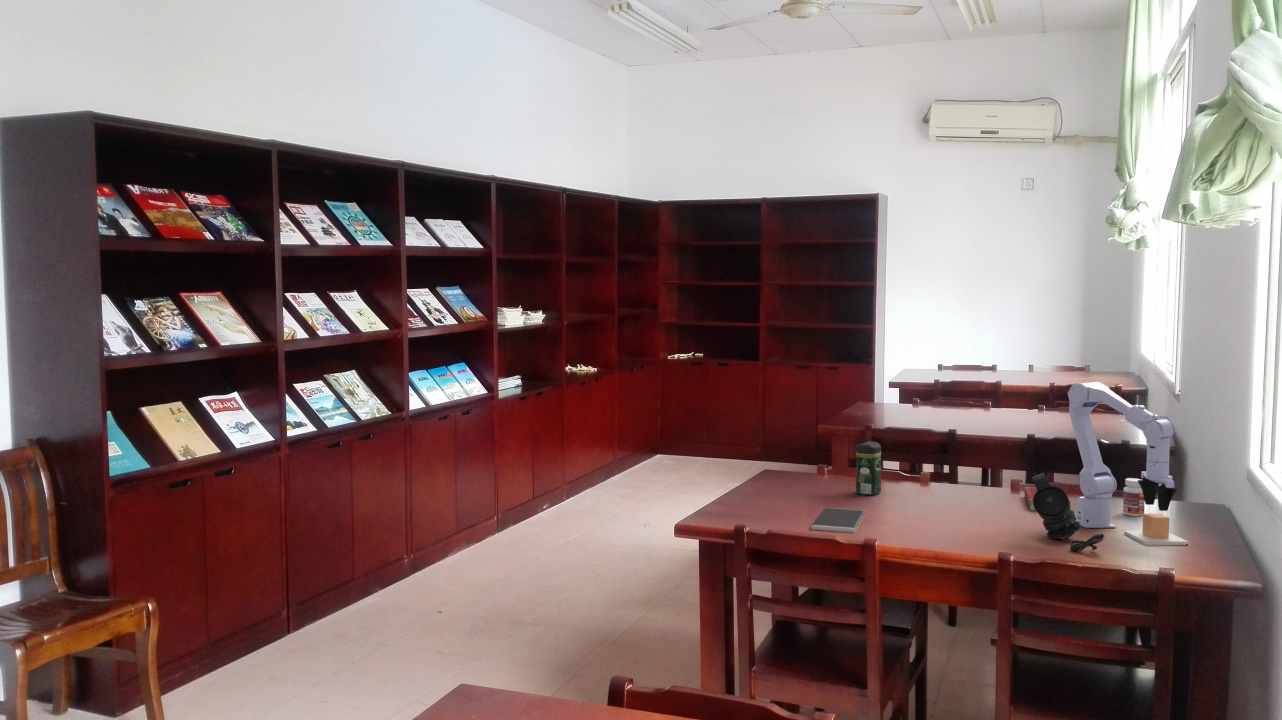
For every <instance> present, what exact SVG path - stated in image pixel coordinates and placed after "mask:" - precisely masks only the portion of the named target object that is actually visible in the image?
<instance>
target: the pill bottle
mask: <svg viewBox="0 0 1282 720" xmlns="http://www.w3.org/2000/svg"><path fill="white" fill-rule="evenodd" d="M1138 480H1142V478H1141V479H1139V478H1134V477H1127V478H1125V482H1124V485H1126V486H1125V487H1123V494H1122V495H1123V498H1122V499H1123V501H1122V504H1123V505H1122V513H1123V514H1124V515H1125V516H1126V515H1127V516H1130V517H1131V516H1132V517H1143V514H1145V506H1146V504H1145V500H1144V496H1143V492H1142V489H1141V487H1140V485H1139V483H1138Z"/></svg>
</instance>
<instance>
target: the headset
mask: <svg viewBox="0 0 1282 720" xmlns="http://www.w3.org/2000/svg"><path fill="white" fill-rule="evenodd" d="M1031 480H1032V482H1033V484H1034V488H1036V489H1037V492H1036V493H1035V495H1034V497H1033V505H1034V508H1035V510H1034V511H1036V513H1037V514H1038V515H1039V516H1040V518H1041V519H1043V520H1042V525H1043V526H1044V528H1045V530H1046V535H1047V536H1048V538H1049V539H1051V540H1054V539H1055V540H1056V539H1058V540H1059V539H1060V540H1063V541H1065V542H1070V547H1069V550H1070V551H1074V552H1077V551H1079V552H1082V551H1083V550H1085V548H1088V547H1090V548H1092V549H1091V550H1092V551H1094V550H1097V549H1098V546H1097V544H1098V543H1100V542H1102V541H1103V540H1104V538H1105V534H1104V533H1100V534H1095V535H1093V536H1091V537H1090V538H1088V539H1087V540H1085V541H1084V540H1079V539H1078V540H1068V538H1071V537H1072V536H1074V534H1075V533H1076V532H1078V531H1079V530H1080V529H1081V527H1082V526H1081V525H1080V523H1079V522H1078V521H1076V517H1075V510H1072V509H1071V500H1069V496H1068V495H1067V493H1066V491H1064V490H1063V489H1062V488H1060V487H1058V486H1055V485H1051V484H1050V482H1049V481H1048V478H1047V477H1046V476H1045V474H1044V473H1039V474H1036V475H1033V476H1032V477H1031Z"/></svg>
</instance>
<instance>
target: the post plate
mask: <svg viewBox="0 0 1282 720" xmlns="http://www.w3.org/2000/svg"><path fill="white" fill-rule="evenodd" d="M1123 534H1124V535H1125V536H1127V537H1129V538H1131V539H1133V540H1134V541H1136V542H1138V543H1140V544H1143V545H1144V546H1187V545H1186V544H1189V541H1188V540H1186V539H1183V538H1181V537H1180V536H1177V535H1175V534H1173V533H1171V532H1169V538H1150V537H1148V536H1146V535H1144V534H1142V530H1124V533H1123Z"/></svg>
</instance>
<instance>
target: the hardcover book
mask: <svg viewBox="0 0 1282 720" xmlns="http://www.w3.org/2000/svg"><path fill="white" fill-rule="evenodd" d="M1036 492H1037V489H1036V487H1030V486H1028V487H1025V488H1024V494H1023V495H1024V499H1025V501H1026V503H1027V507H1028V509H1029V511H1036V510H1035V508H1034V505H1033V497H1034V495H1035V493H1036Z"/></svg>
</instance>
